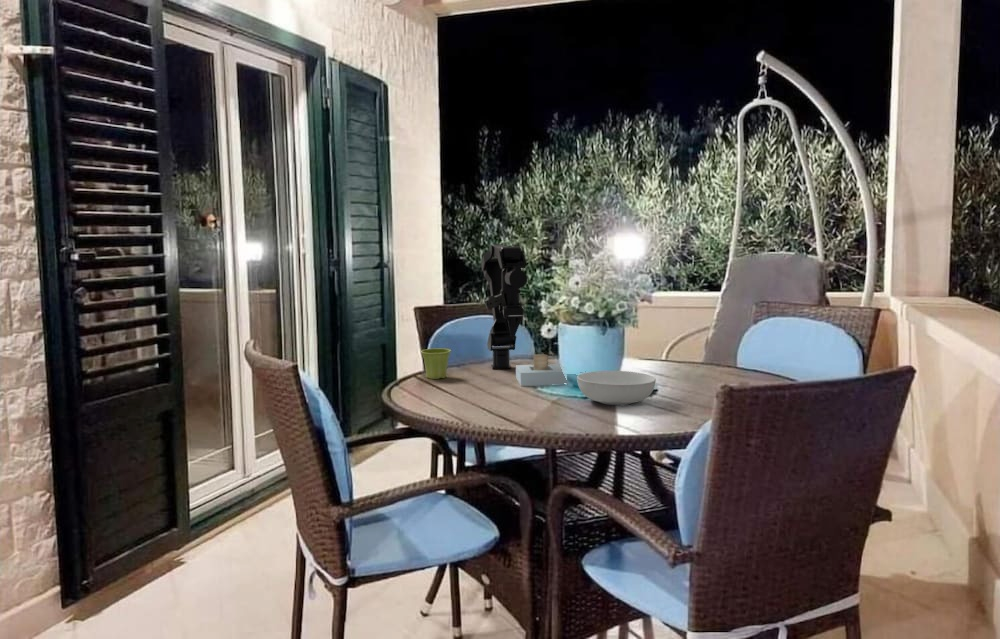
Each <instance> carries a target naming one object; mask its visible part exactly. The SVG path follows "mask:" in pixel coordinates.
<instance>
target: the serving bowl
mask: <svg viewBox="0 0 1000 639" xmlns="http://www.w3.org/2000/svg"><path fill="white" fill-rule="evenodd" d="M576 381H577V385H578V386H577V387H578V388H579V390H580V392H581V393H582V394H583V395H584V396H585V397H586V398H588V399H590V400H592V401H595V402H597V403H601V404H603V405H610V406H627V405H631V404H634V403H638V402H642V401H644V400H646V398H648V397H650V396H651V394H652V393H653V391H654V389H655V386H656V382H657V381H656V378H655V376H653V375H650V374H648V373H647V374H646V373H642V372H636V371H629V370H595V371H588V372H581V373H579V374H578V375H577V376H576Z"/></svg>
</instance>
